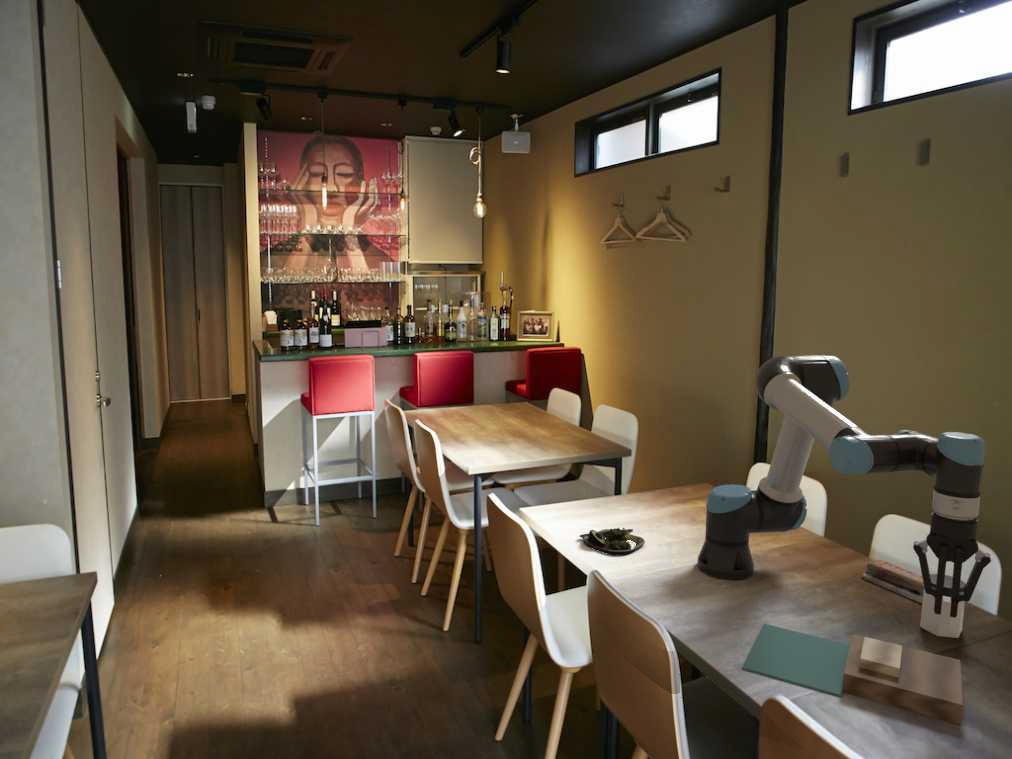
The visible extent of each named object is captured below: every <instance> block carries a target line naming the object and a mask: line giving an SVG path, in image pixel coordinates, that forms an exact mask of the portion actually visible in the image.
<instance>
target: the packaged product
mask: <svg viewBox="0 0 1012 759" xmlns="http://www.w3.org/2000/svg"><path fill="white" fill-rule="evenodd" d="M863 578H864V579H863ZM861 579H863V580H865V581H869V582H870V581H871V582H870V583H873V584H875V585H877V586H880V587H881V586H882V587H881V588H884V589H886V588H887V589H886V590H888V589H889V590H888V591H890V590H892V591H891V592H893V591H894V592H893V593H895V592H896V593H895V594H897V593H898V595H900V594H901V595H900V596H902V595H903V597H904V596H905V597H904V598H907V599H909V598H910V599H909V600H911V601H914V600H915V601H914V602H916V601H917V603H919V602H920V604H921V603H922V602H923V593H924V589H925V588H924V583H923V578H922V575H920V574H918V573H915V572H913V571H910V570H908V569H906V568H903V567H901V566H898V565H896V564H894V563H891V562H888V561H886V560H882V559H879V560H876V561H871V562H869V563H867V566H866V571H865V572H863V573H862V575H861Z"/></svg>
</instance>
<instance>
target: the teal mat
mask: <svg viewBox="0 0 1012 759" xmlns="http://www.w3.org/2000/svg"><path fill="white" fill-rule="evenodd" d="M849 648H850V644H847V643H844V642H839V641H836V640H832V639H828V638H824V637H819V636H816V635H813V634H807V633H803V632H798V631H796V630H791V629H789V628H788V629H787V628H783V627H780V626H776V625H775V626H774V625H771V624H767V623H763V624H762V627H761V628H760V630H759V632H758V634H757V637H756V639H755V640H754V642H753V644H752V647H751V649H750V651H749V653H748V654H747V656H746V658H745V660H744V662H743V664H742V667H741V669H742V670H746V671H748V672H752V673H756V674H759V675H763V676H766V677H770V678H774V679H777V680H779V681H780V680H781V681H784V682H787V683H791V684H794V685H798V686H802V687H804V688H808V689H813V690H815V691H819V692H822V693H826V694H829V695H834V696H837V697H842V693H843V692H842V687H843V675H844V670H845V665H846V661H847V657H848V653H849Z"/></svg>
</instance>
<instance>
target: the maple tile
mask: <svg viewBox="0 0 1012 759" xmlns="http://www.w3.org/2000/svg"><path fill="white" fill-rule="evenodd" d="M863 637H864V642H863V647H862V652H861V657H860V668H864V669H868V670H871V671H875V672H879V673H883V674H887V675H891V676H894V677H898V678H899V673H900V662H901V652H902V646H903V645H901V644H898V643H893V642H888V641H883V640H880V639H876V638H871V637H867V636H863Z"/></svg>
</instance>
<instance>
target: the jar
mask: <svg viewBox="0 0 1012 759" xmlns="http://www.w3.org/2000/svg"><path fill="white" fill-rule="evenodd" d="M930 578H931V583H932V586H933V587H935V588H936V581H937V573H930ZM952 579H953V575H952V576H951V575H947V574H945V579H944V590H943V596H947V597H951V589H952ZM965 585H966V582H964V581H963V580H961V581H960V591H959V592H963V590H964V588H965ZM934 603H935V598H934V596H932V595H930V594H927V593H926V592H925V589H924V593H923V602H922V604H921V606H922V607H921V616H920V624H919V626H920V628H921V629H923V630H925V631H927V632H928V633H931V634H933V635H935V636H936V637H943V638H953V639H955V638H956V639H959V638H960V636H961V633H962V632H963V622H964V615H965V607H966V606H965V605H966V601H960V602H959V603H958V610H957V616H956V618H954V617H950V620H949V630H948V634H944V633H939V623H940V615H939V614H935V612H934Z"/></svg>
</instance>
